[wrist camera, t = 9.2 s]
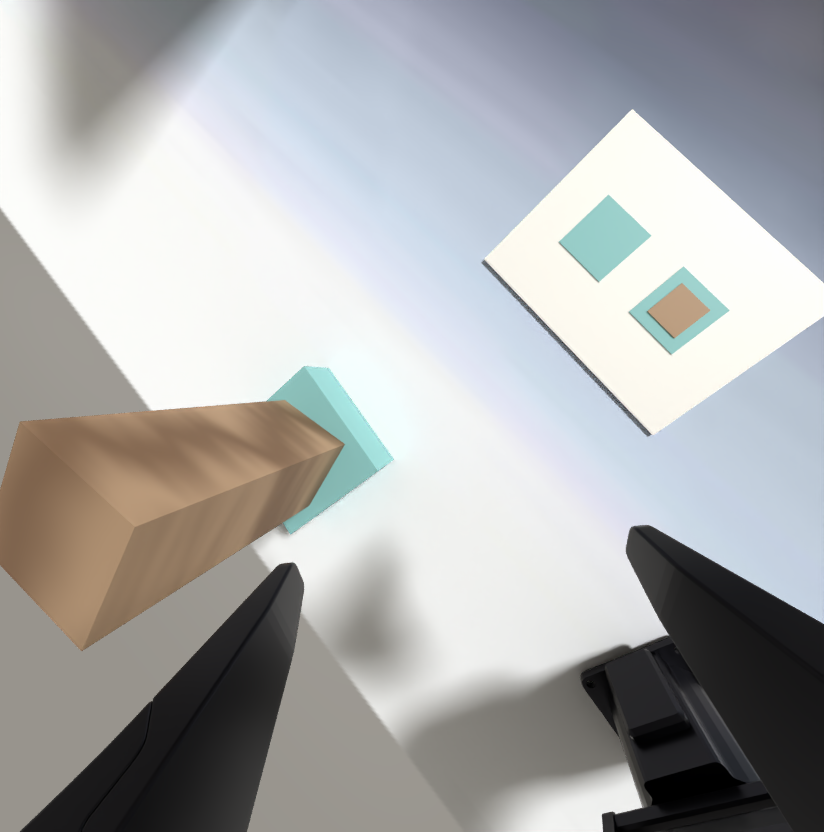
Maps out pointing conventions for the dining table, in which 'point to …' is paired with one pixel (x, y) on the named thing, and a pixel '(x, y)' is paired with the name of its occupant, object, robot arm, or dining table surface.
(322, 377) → the base brick
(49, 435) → the column brick
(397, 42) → the dining table surface
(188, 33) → the dining table surface
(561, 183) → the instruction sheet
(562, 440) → the dining table surface
